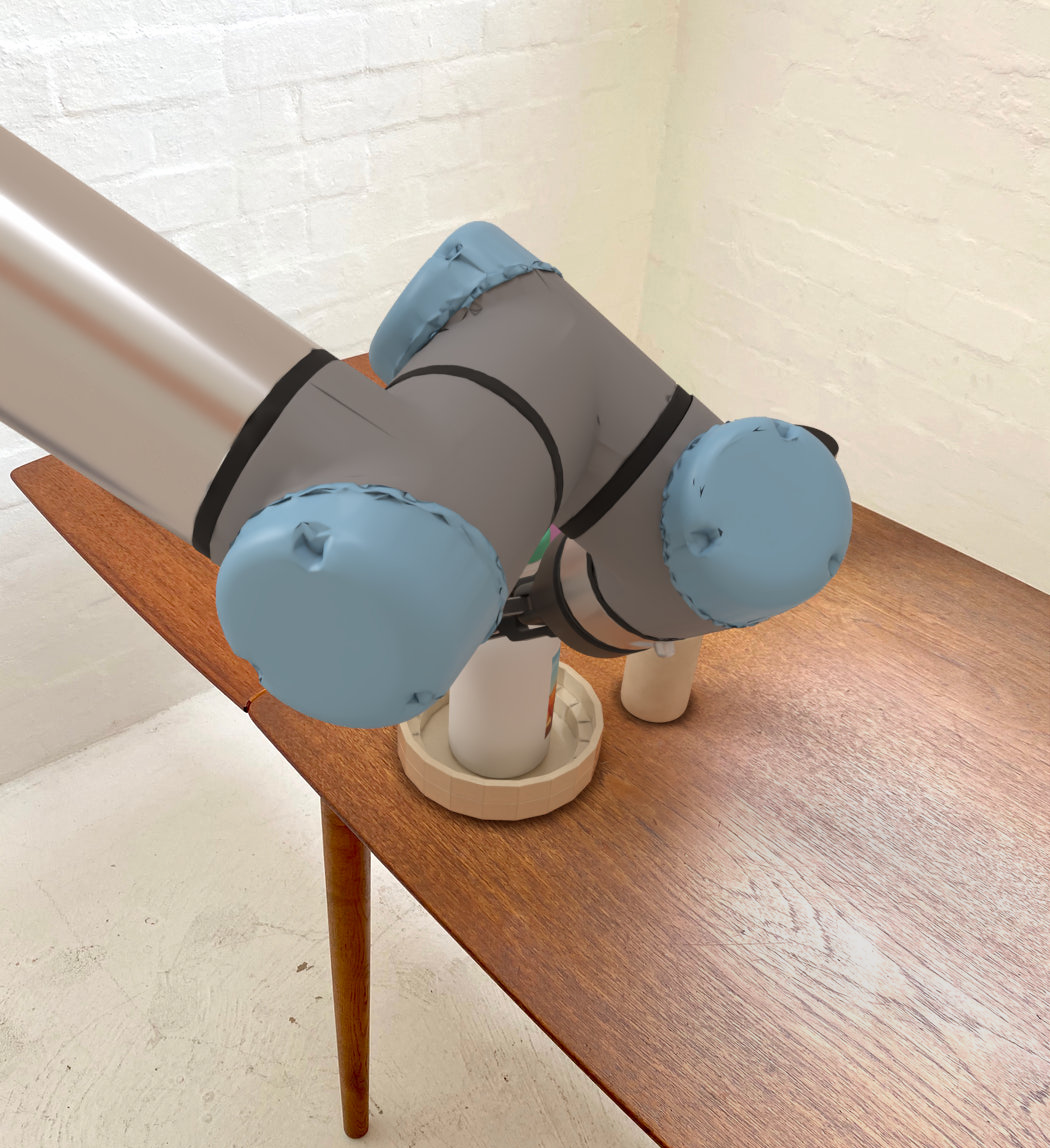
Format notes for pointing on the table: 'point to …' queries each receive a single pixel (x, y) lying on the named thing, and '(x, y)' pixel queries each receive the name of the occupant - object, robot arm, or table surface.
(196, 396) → the robot arm
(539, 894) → the table surface
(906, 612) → the table surface
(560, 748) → the bowl
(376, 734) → the table surface
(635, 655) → the candle
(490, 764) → the milk bottle
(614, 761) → the table surface
